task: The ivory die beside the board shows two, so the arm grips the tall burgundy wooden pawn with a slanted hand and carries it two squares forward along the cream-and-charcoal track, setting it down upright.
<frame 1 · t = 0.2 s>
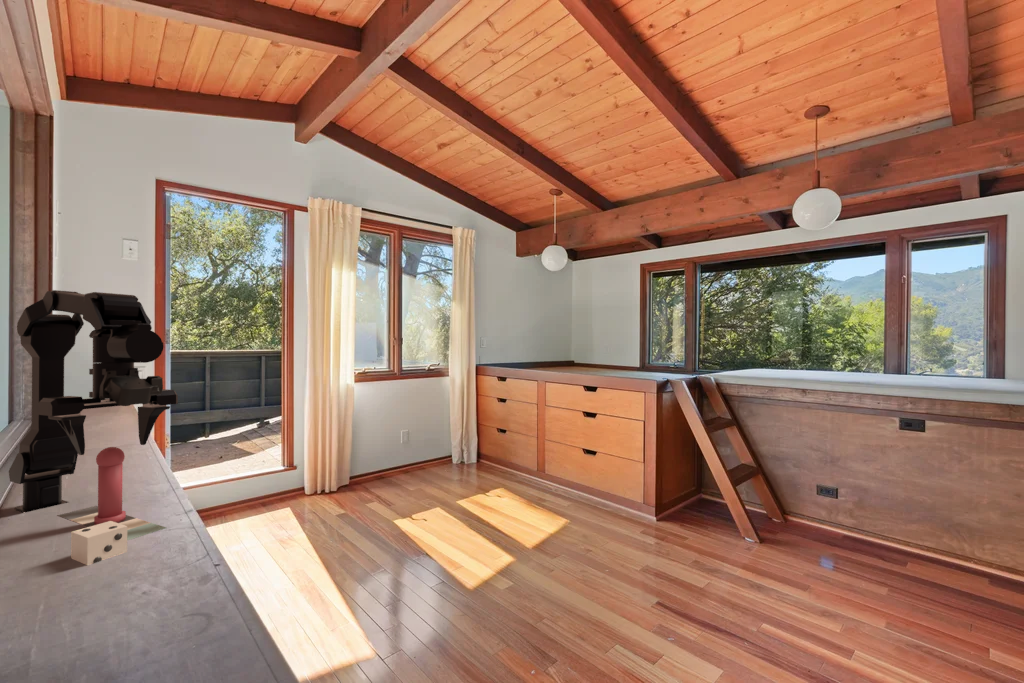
hand: (113, 449, 85), 15 cm above the table, tool pointing down, fingers open, 9 cm apart
board: (110, 526, 87), on the table
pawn: (110, 521, 87), point 1 cm above the table, touching board
die: (99, 561, 73), on the table
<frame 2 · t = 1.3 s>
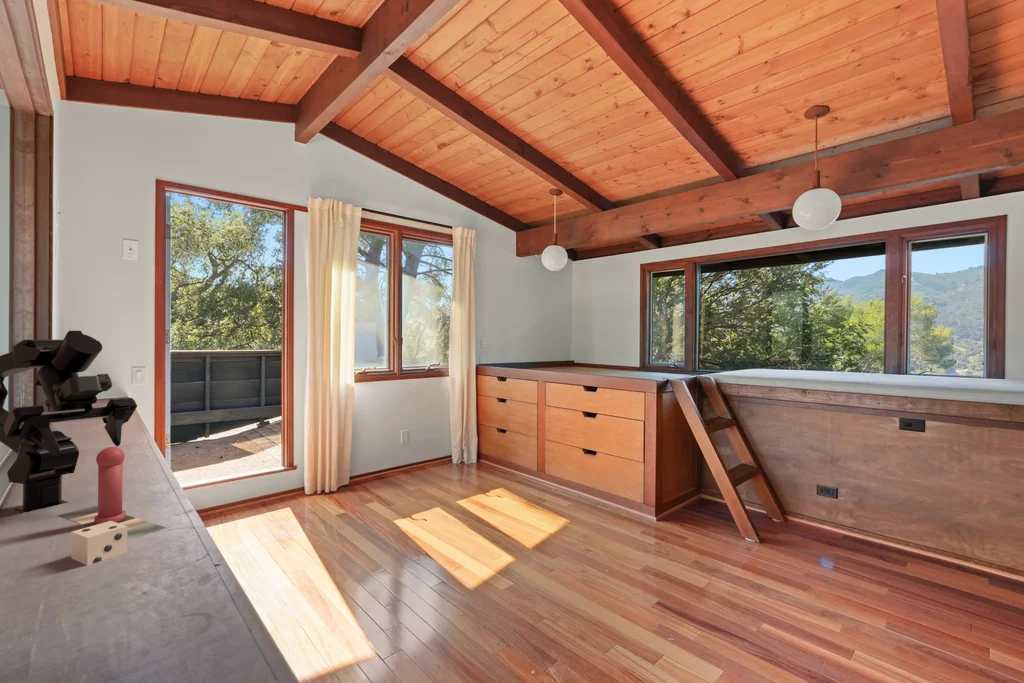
hand: (89, 449, 90), 13 cm above the table, tool tilted 45°, fingers open, 9 cm apart
nothing on the table moved.
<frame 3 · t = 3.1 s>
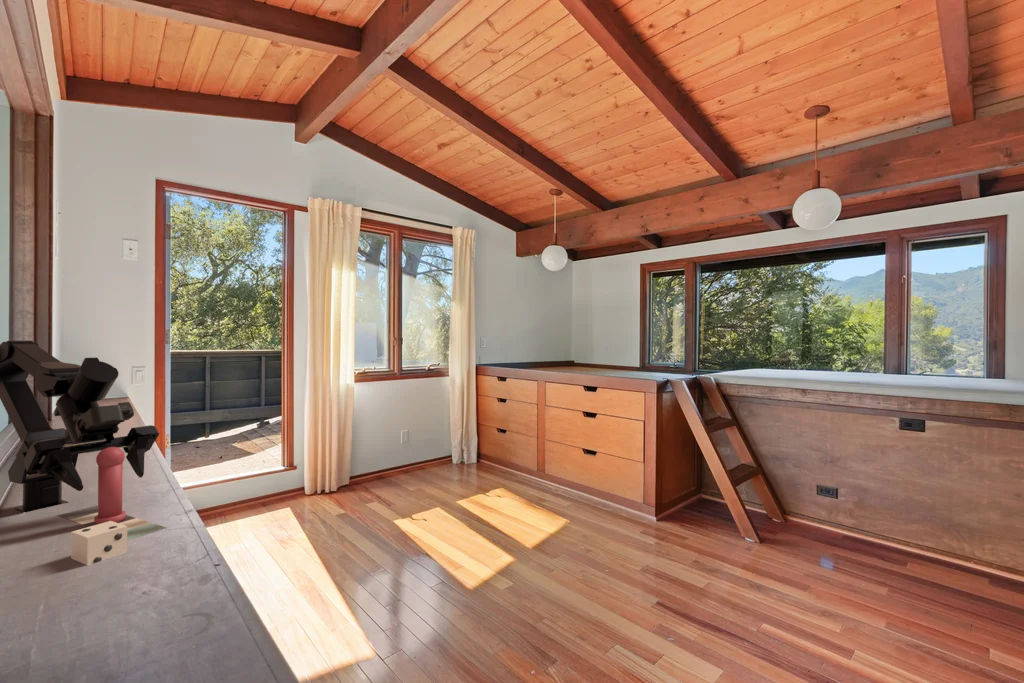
hand: (113, 482, 86), 8 cm above the table, tool tilted 45°, fingers open, 9 cm apart
nothing on the table moved.
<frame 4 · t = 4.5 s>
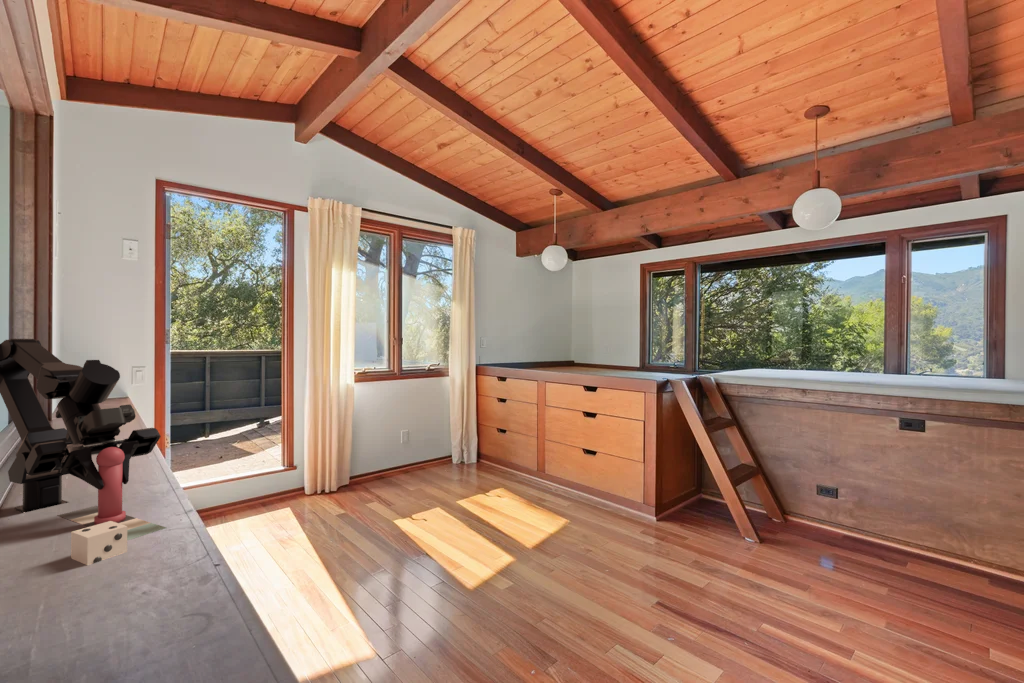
hand: (114, 485, 86), 8 cm above the table, tool tilted 45°, fingers closed on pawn, 3 cm apart
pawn: (110, 521, 87), point 1 cm above the table, touching board, gripper
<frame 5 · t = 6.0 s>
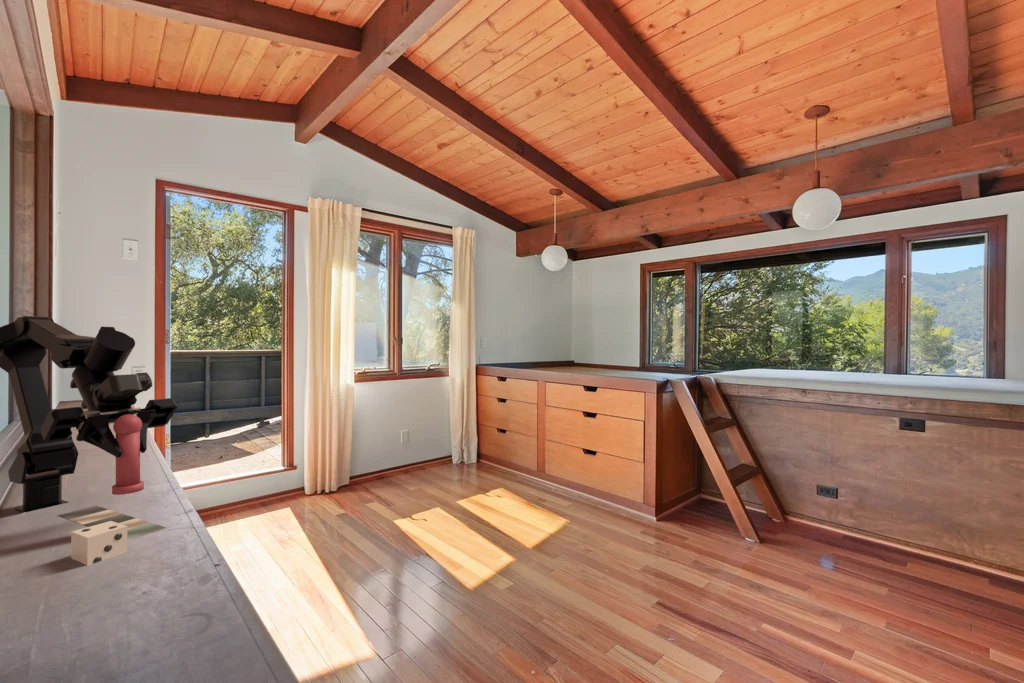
hand: (132, 453, 84), 14 cm above the table, tool tilted 45°, fingers closed on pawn, 3 cm apart
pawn: (128, 490, 84), point 7 cm above the table, touching gripper
when the fingers open (9 cm above the table, at t = 7.6 s): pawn drops 1 cm, resting on board.
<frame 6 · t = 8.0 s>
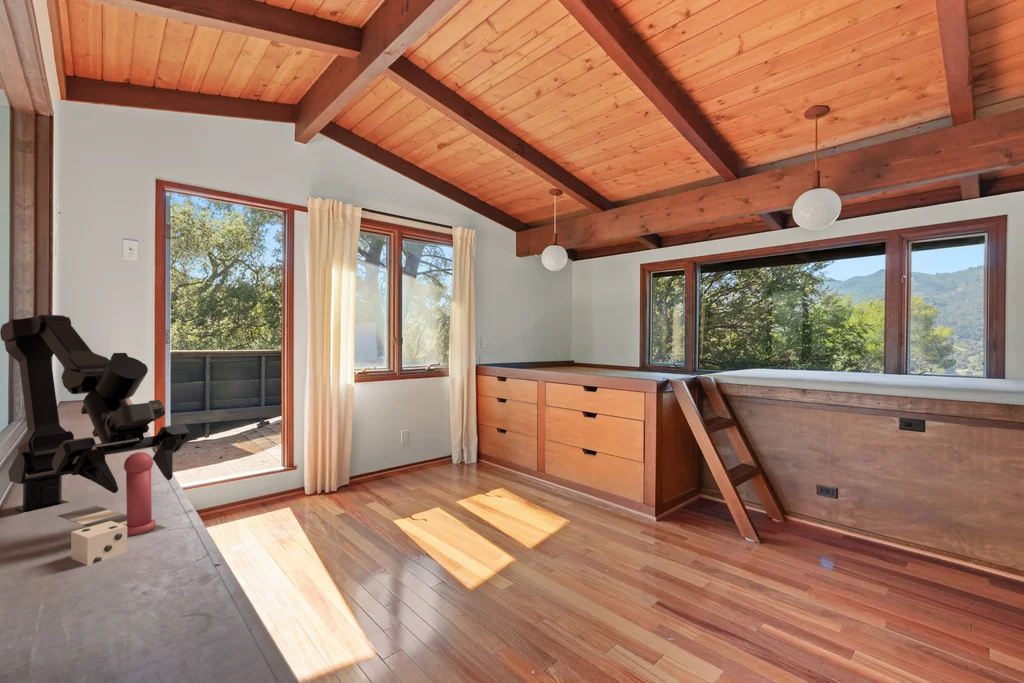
hand: (144, 484, 82), 9 cm above the table, tool tilted 45°, fingers open, 8 cm apart
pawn: (139, 530, 82), point 1 cm above the table, touching board
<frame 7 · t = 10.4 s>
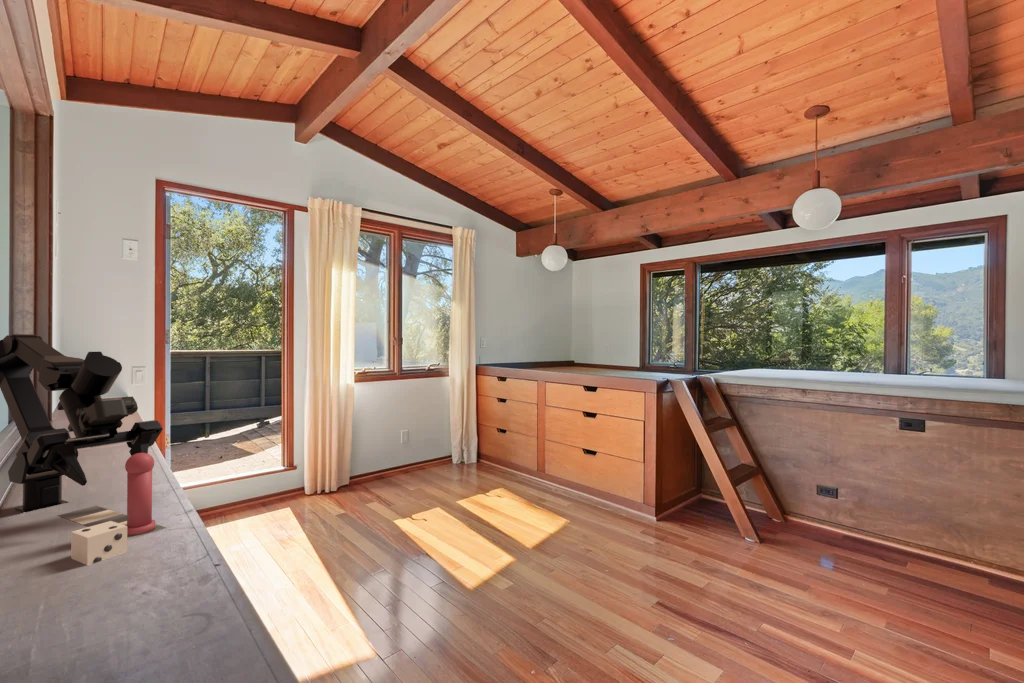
hand: (116, 477, 86), 9 cm above the table, tool tilted 45°, fingers open, 9 cm apart
nothing on the table moved.
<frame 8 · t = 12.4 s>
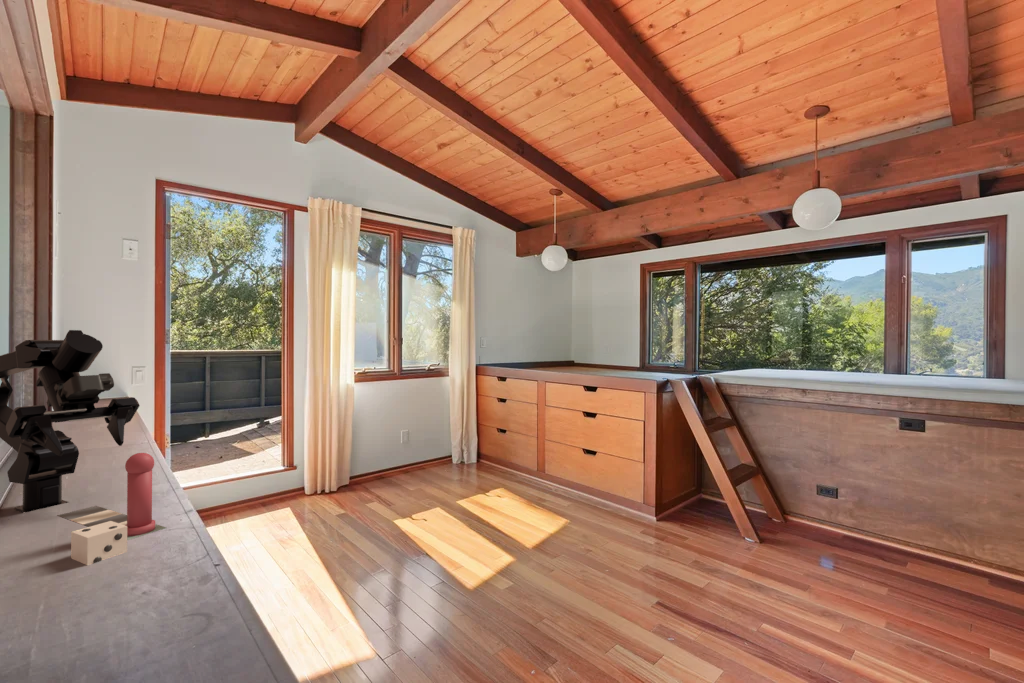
hand: (92, 449, 90), 14 cm above the table, tool tilted 45°, fingers open, 9 cm apart
nothing on the table moved.
at the end: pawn 0.1 cm from the target spot, point 1.0 cm above the table; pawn tilted 0°; the gripper is holding nothing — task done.
